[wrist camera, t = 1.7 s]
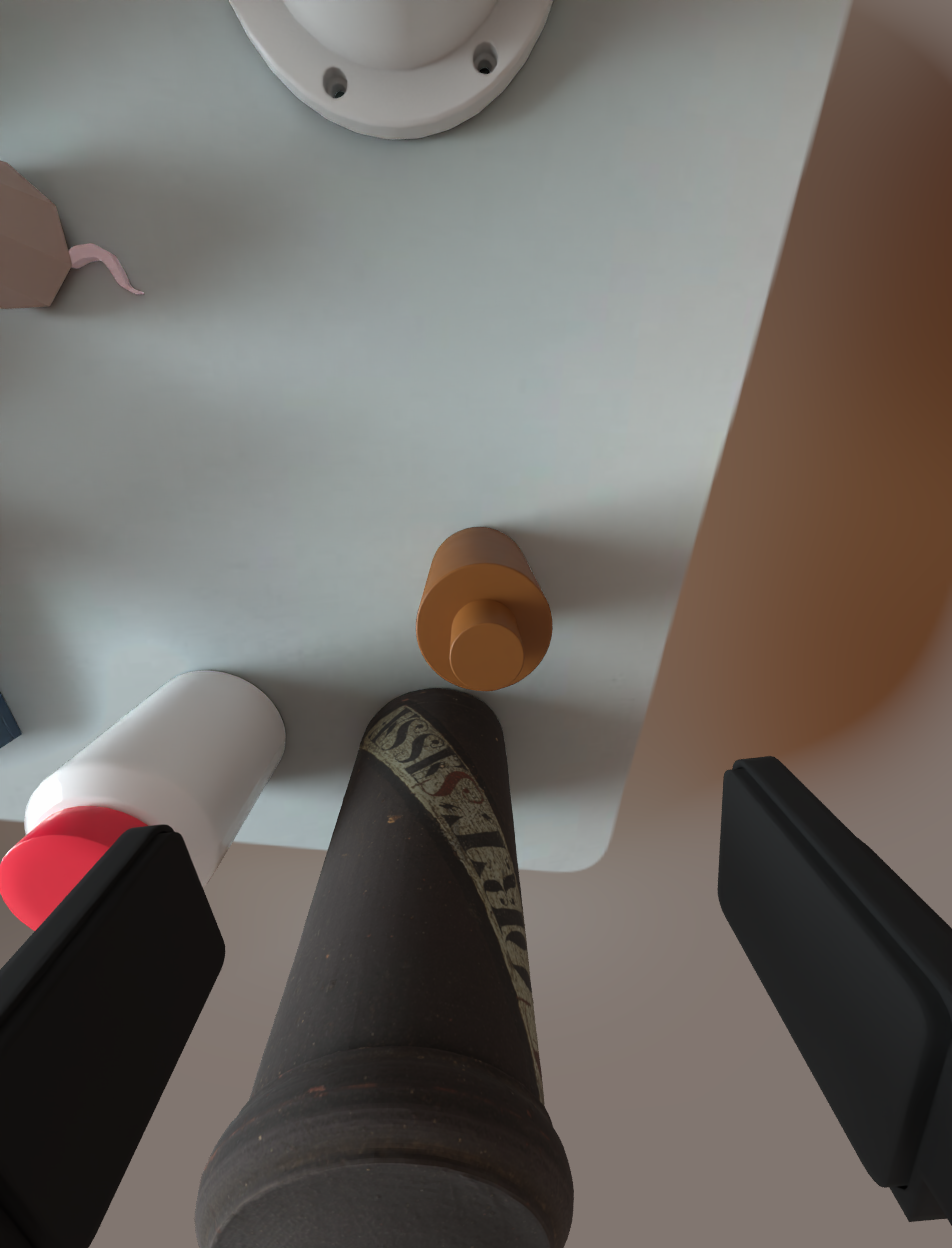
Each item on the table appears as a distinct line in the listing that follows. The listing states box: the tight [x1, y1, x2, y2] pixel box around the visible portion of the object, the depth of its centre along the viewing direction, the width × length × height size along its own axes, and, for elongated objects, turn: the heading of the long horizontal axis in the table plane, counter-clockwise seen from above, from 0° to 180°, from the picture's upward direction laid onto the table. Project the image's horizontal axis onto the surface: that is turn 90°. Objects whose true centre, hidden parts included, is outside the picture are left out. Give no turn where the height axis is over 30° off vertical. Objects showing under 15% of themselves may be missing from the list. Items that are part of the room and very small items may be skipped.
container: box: [195, 688, 574, 1248], centre depth 20 cm, size 9×9×20 cm
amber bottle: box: [416, 527, 552, 691], centre depth 21 cm, size 5×5×10 cm
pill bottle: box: [0, 670, 286, 931], centre depth 23 cm, size 8×8×11 cm
